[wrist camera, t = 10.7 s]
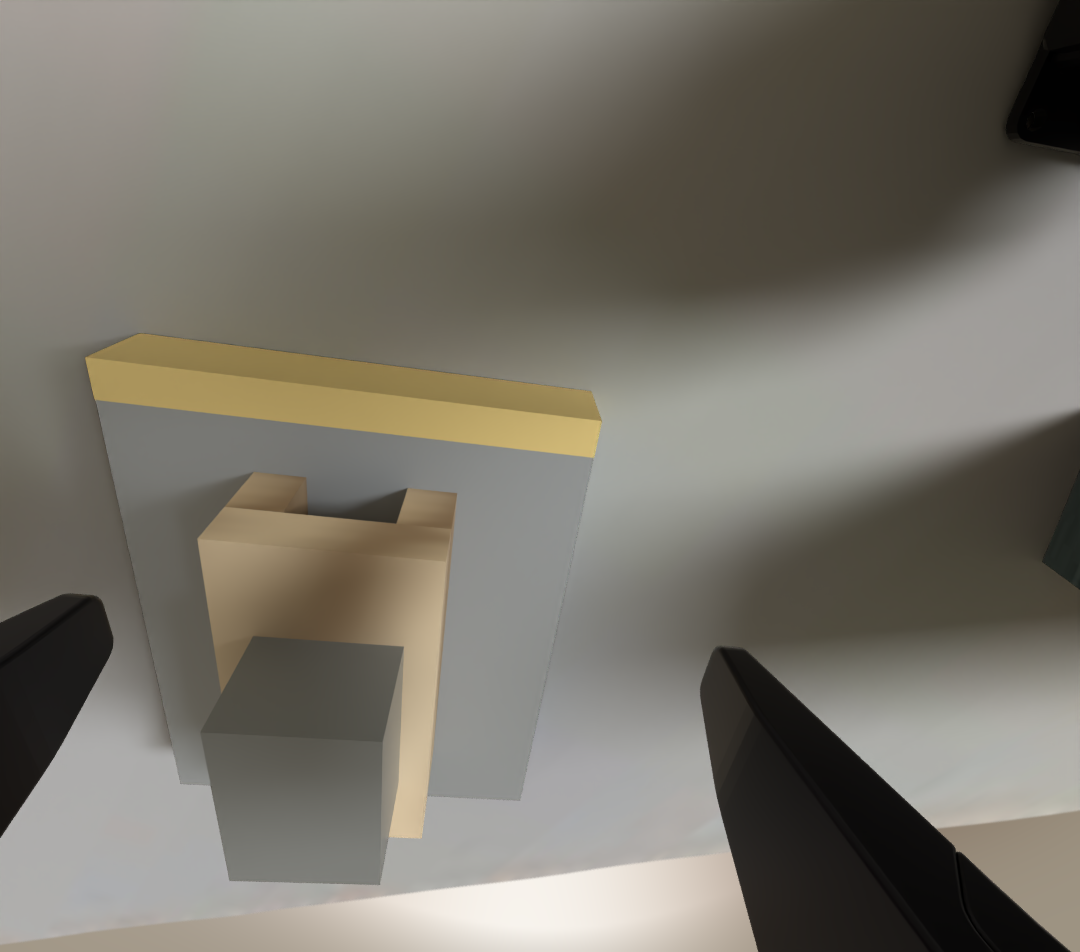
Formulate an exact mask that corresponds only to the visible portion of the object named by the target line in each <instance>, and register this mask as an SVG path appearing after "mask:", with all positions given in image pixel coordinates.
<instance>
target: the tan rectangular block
mask: <svg viewBox="0 0 1080 952" xmlns="http://www.w3.org/2000/svg"><path fill="white" fill-rule="evenodd" d="M456 502H457V493H451V492H441V491H431V490H422V489H412V488H408V489H407V492H406V496H405V499H404V502H403V505H402V508H401V511H400V514H399V517H398V520H397V523H396V524H394V523H384V522H374V521H364V520H354V519H343V518H333V517H323V516H313V515H308V502H307V481H306V477H298V476H289V475H279V474H270V473H260V472H254V473H253V474H252V475H251V476H250V477H249V478H248V480H247V481H246V482H245V483H244V484H243V486H242V487H241V488H240V489H239V490H238V491H237V493H236V494H235V495H234V496H233V497H232V499H231V500H230V501H229V502H228V503H227V504H226V506H225V507H224V508H223V509H222V510H221V511H220V513H219V514H218V515H217V516H216V517H215V519H214V520H213V521H212V522H211V523H210V524H209V526H208V527H207V528H206V529H205V530H204V532H203V533H202V534H201V535H200V536H199V537H198V539H197V540H198V547H199V553H200V560H201V566H202V573H203V579H204V585H205V592H206V598H207V605H208V611H209V618H210V624H211V631H212V637H213V644H214V650H215V656H216V663H217V669H218V676H219V682H220V689H221V694H222V692H223V690H224V688H225V686H226V685H227V683H228V681H229V679H230V677H231V675H232V674H233V672H234V670H235V668H236V666H237V665H238V663H239V661H240V659H241V657H242V656H243V654H244V652H245V650H246V648H247V646H248V645H249V643H250V641H251V639H252V637H253V636H260V637H274V638H289V639H303V640H317V641H331V642H346V643H360V644H374V645H389V646H403V647H404V660H403V684H402V709H401V733H400V758H399V782H398V789H397V794H396V799H395V805H394V810H393V816H392V821H391V827H390V832H389V837H400V838H422V831H423V824H424V816H425V809H426V801H427V794H428V786H429V779H430V771H431V764H432V756H433V749H434V738H435V727H436V716H437V706H438V695H439V684H440V674H441V663H442V652H443V641H444V631H445V620H446V609H447V599H448V588H449V577H450V566H451V556H452V545H453V534H454V524H455V513H456Z"/></svg>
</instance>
